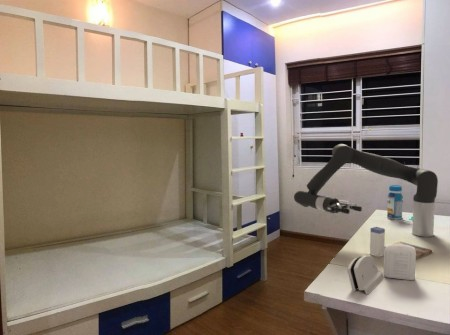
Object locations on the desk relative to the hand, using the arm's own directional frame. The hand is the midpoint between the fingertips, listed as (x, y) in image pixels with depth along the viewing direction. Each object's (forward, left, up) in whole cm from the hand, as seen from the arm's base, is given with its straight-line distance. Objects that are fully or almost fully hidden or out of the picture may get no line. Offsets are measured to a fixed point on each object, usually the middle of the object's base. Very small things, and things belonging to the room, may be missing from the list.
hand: (355, 210), depth 148 cm
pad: (-14, +16, -17) cm, 28 cm away
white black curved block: (+28, +25, -18) cm, 41 cm away
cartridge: (0, +11, -17) cm, 21 cm away
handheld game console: (-76, -10, -18) cm, 79 cm away
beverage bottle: (-64, -20, -17) cm, 69 cm away
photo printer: (+14, +29, -17) cm, 37 cm away
